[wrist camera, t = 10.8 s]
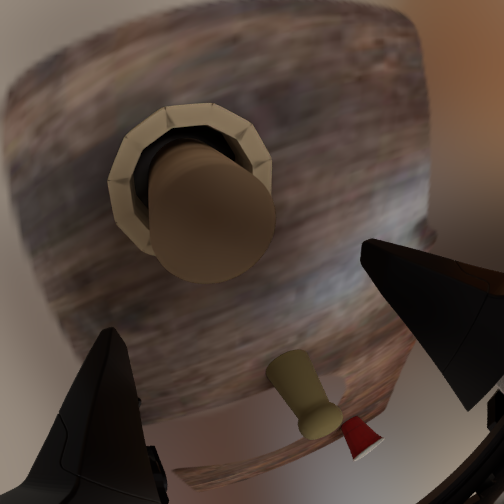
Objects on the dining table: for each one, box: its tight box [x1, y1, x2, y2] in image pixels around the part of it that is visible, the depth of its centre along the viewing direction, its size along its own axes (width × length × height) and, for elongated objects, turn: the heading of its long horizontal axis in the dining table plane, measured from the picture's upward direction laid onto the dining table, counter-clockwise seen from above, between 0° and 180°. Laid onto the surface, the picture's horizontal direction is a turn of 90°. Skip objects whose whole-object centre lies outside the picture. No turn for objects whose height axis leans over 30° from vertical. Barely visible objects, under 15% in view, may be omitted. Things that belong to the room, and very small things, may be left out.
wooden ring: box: [107, 103, 272, 256], centre depth 16 cm, size 9×9×4 cm
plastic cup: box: [341, 416, 385, 462], centre depth 59 cm, size 11×11×12 cm
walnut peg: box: [148, 138, 276, 284], centre depth 14 cm, size 5×5×9 cm
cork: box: [266, 350, 343, 440], centre depth 29 cm, size 6×6×11 cm
